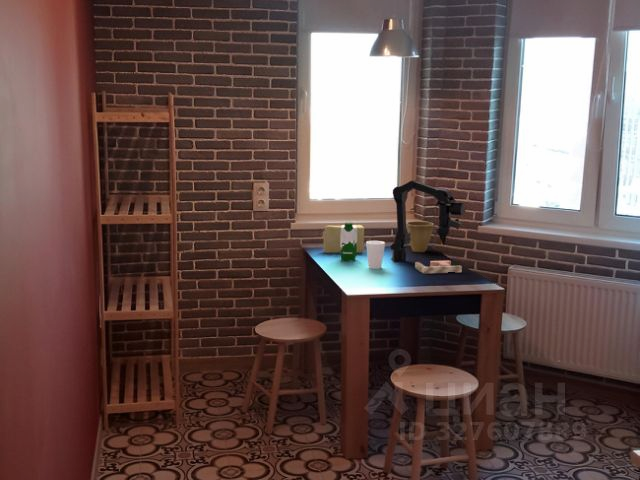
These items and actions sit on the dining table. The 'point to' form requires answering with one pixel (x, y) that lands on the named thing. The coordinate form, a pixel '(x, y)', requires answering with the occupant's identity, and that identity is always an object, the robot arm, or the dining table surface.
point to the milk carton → (348, 242)
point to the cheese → (333, 239)
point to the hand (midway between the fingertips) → (443, 244)
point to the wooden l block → (437, 268)
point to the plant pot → (419, 235)
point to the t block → (440, 263)
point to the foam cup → (375, 253)
